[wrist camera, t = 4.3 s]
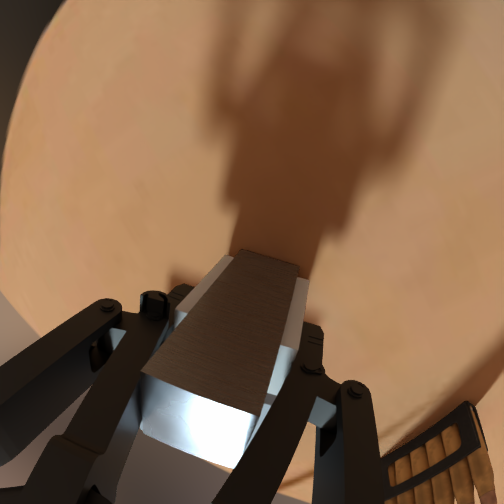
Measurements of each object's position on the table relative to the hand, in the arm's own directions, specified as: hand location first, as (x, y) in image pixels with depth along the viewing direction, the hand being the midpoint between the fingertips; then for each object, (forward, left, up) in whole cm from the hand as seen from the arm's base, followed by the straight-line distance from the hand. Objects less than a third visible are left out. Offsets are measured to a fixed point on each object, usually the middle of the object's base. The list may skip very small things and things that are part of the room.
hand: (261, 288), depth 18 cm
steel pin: (0, 0, -1) cm, 1 cm away
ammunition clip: (+11, +18, -1) cm, 21 cm away
